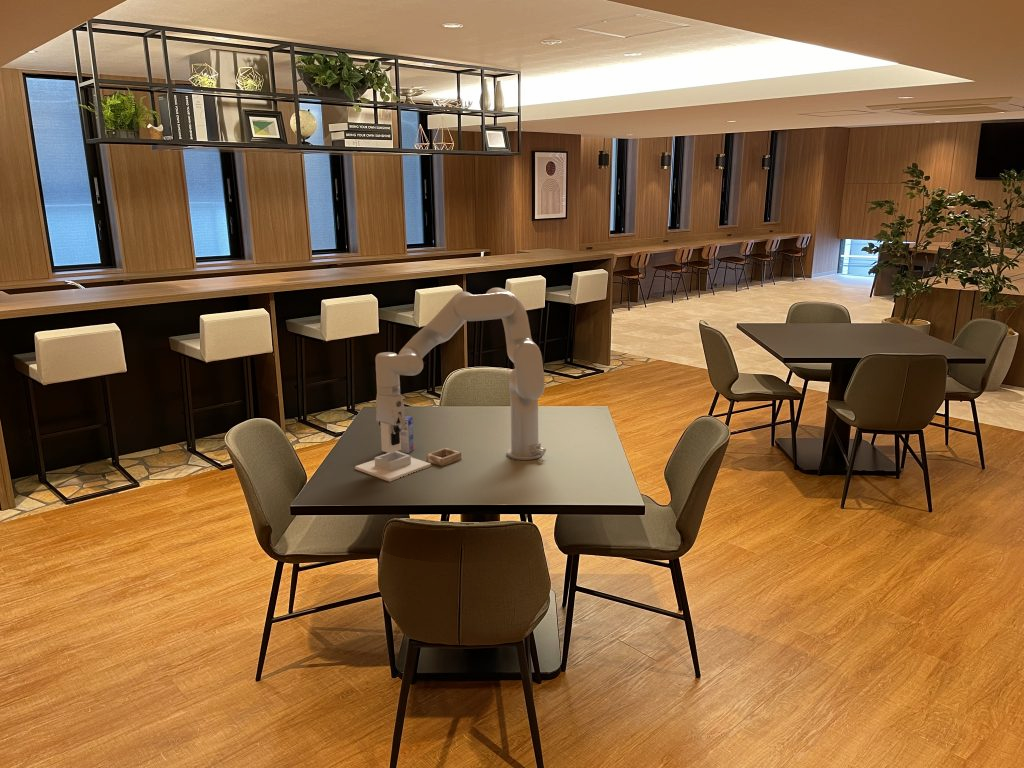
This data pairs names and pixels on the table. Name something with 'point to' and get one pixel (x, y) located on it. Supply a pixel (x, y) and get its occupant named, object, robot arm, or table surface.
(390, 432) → the plug
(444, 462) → the brown rectangular frame
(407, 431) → the ink cartridge box
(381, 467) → the port board
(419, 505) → the table surface
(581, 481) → the table surface
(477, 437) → the table surface
